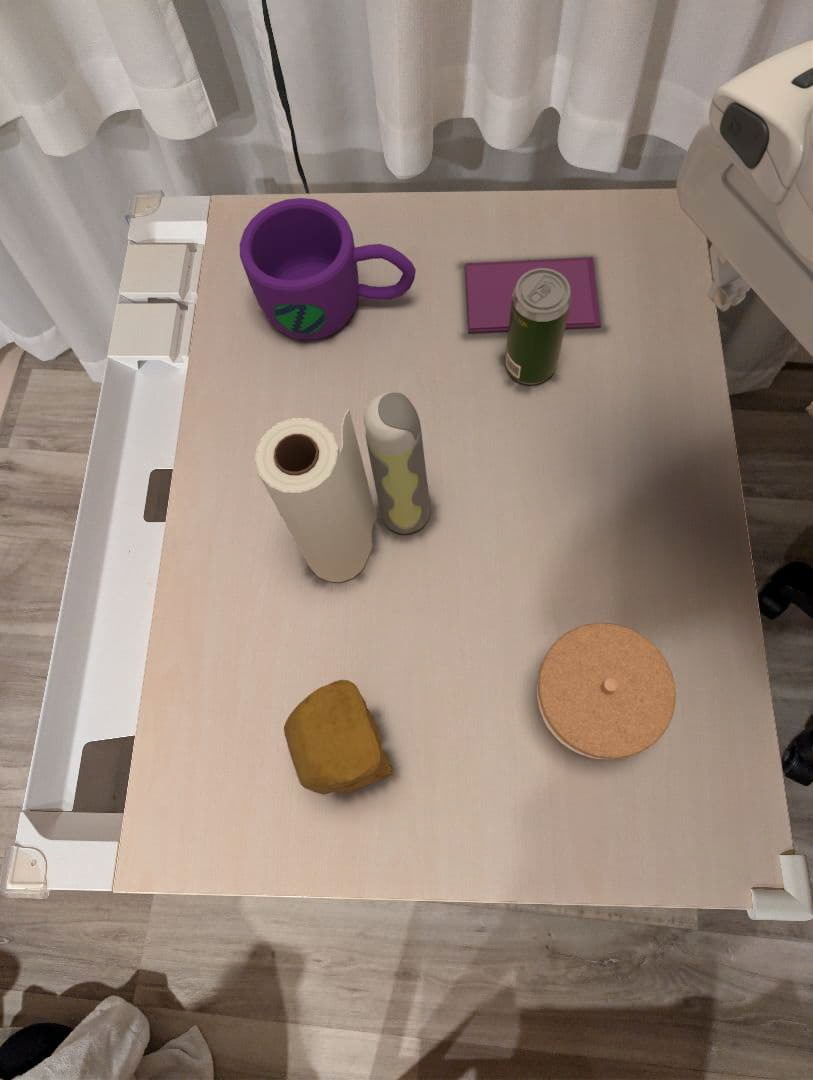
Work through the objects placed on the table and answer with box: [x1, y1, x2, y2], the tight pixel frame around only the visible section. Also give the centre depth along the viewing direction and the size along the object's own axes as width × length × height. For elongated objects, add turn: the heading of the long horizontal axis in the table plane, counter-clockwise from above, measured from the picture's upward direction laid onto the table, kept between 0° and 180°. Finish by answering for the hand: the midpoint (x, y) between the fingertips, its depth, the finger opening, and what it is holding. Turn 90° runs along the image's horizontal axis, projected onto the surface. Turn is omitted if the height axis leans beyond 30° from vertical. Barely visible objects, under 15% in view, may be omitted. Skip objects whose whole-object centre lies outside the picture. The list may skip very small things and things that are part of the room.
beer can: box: [504, 268, 571, 386], centre depth 75 cm, size 5×5×12 cm
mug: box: [239, 197, 417, 341], centre depth 80 cm, size 17×11×10 cm, turn 87°
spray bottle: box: [363, 391, 431, 535], centre depth 66 cm, size 5×5×20 cm
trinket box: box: [536, 622, 677, 760], centre depth 64 cm, size 11×11×9 cm
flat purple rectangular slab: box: [464, 256, 602, 334], centre depth 83 cm, size 14×9×1 cm, turn 91°
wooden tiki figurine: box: [283, 679, 394, 796], centre depth 61 cm, size 7×6×15 cm
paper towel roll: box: [254, 408, 377, 583], centre depth 65 cm, size 7×6×21 cm
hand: (771, 355), depth 47 cm, fingers open, 8 cm apart
